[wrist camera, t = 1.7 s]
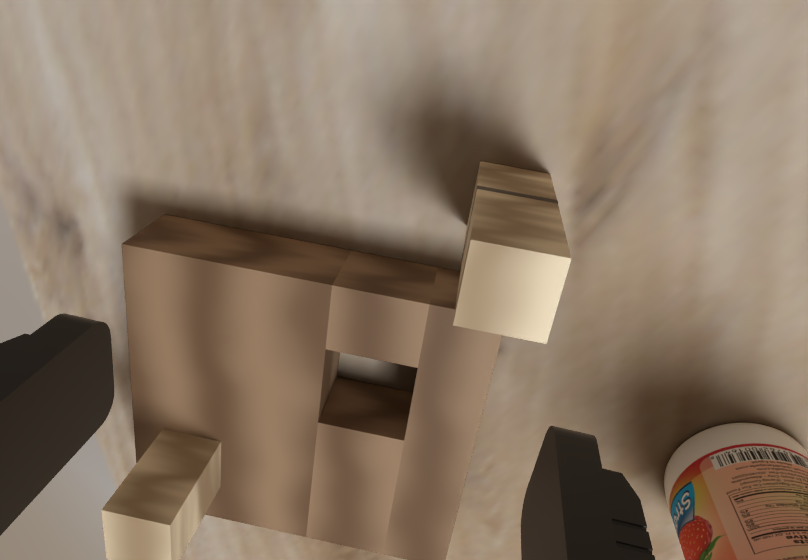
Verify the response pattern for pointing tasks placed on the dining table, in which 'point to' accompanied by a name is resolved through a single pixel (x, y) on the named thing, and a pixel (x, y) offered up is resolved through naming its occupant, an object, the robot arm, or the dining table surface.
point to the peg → (512, 255)
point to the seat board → (292, 393)
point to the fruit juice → (739, 494)
